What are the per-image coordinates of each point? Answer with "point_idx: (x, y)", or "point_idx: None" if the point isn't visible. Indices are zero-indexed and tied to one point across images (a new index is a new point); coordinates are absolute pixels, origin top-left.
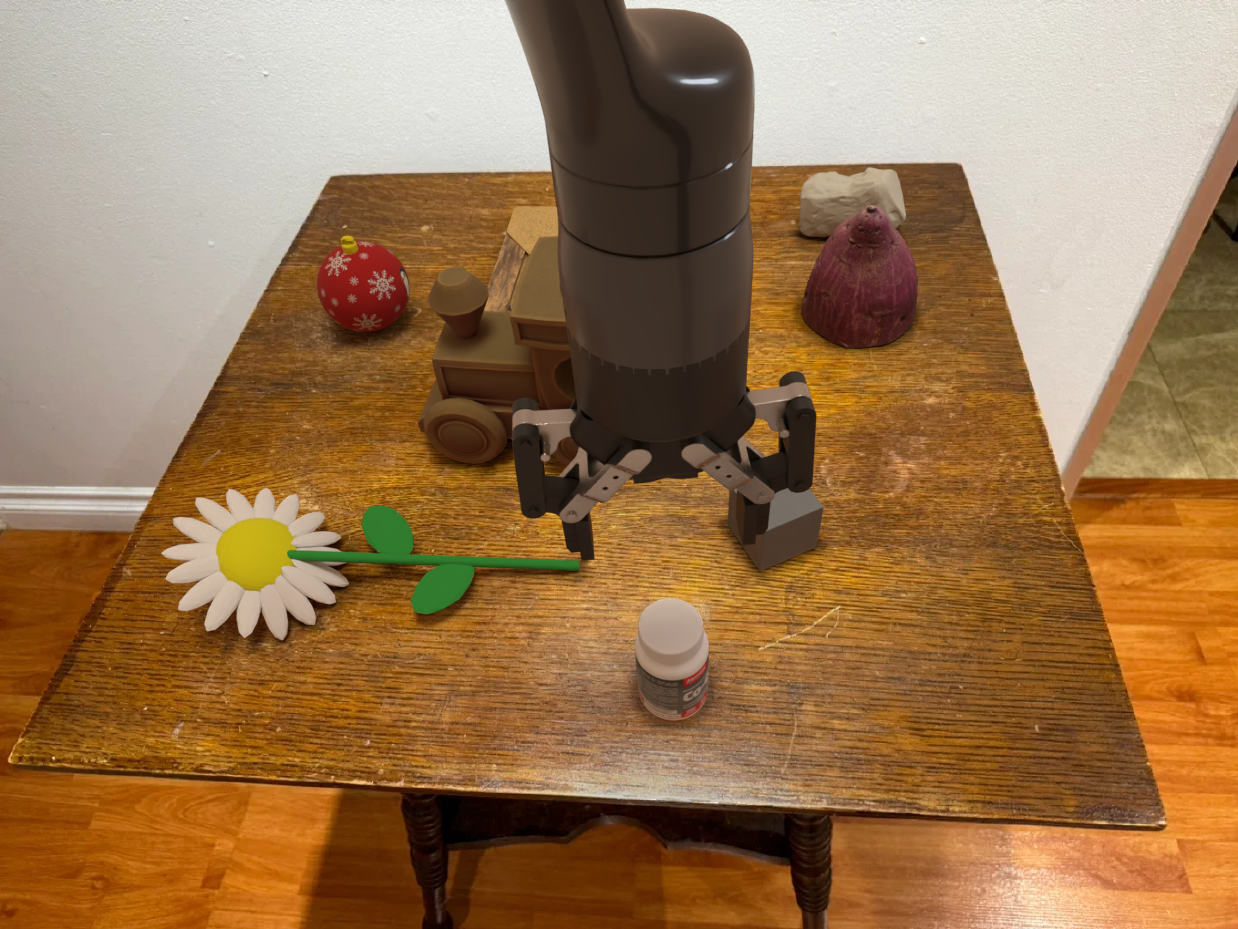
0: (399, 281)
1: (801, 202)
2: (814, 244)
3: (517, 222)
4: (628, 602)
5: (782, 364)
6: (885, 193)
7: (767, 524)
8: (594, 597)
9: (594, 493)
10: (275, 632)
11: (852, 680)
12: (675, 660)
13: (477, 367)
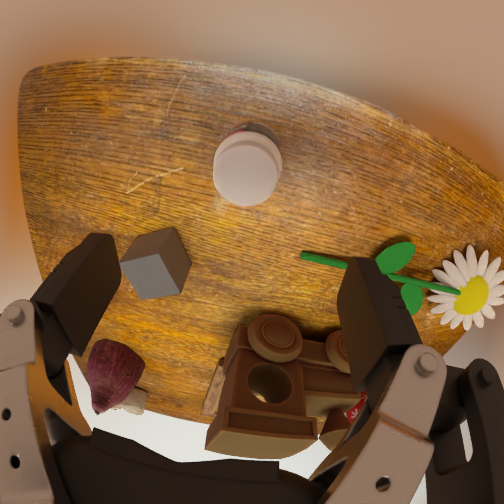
0: (348, 415)
1: (143, 407)
2: (140, 386)
3: None
4: (272, 221)
5: (153, 345)
6: None
7: (63, 259)
8: (295, 230)
9: (410, 460)
10: (472, 249)
11: (126, 138)
12: (247, 142)
13: (337, 394)
